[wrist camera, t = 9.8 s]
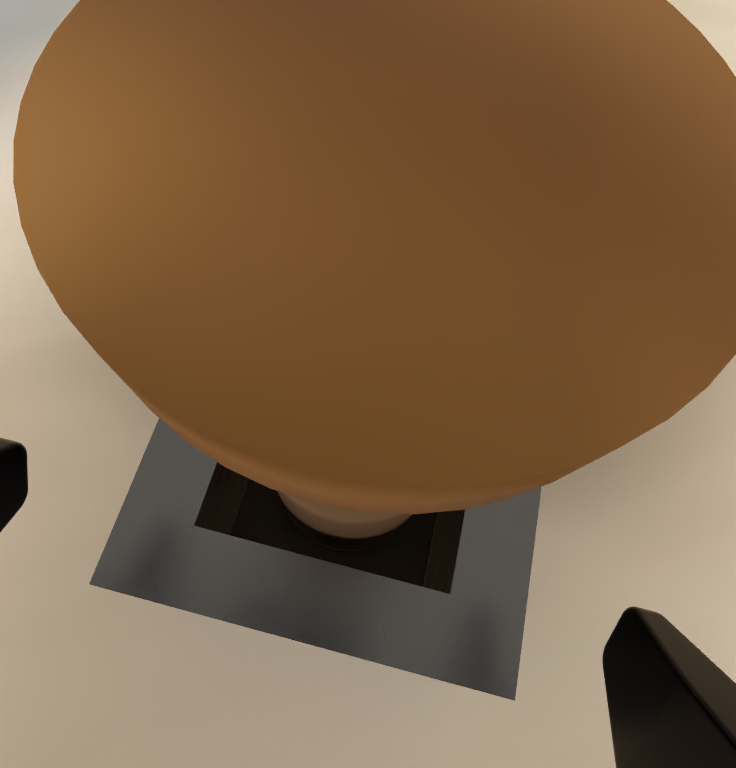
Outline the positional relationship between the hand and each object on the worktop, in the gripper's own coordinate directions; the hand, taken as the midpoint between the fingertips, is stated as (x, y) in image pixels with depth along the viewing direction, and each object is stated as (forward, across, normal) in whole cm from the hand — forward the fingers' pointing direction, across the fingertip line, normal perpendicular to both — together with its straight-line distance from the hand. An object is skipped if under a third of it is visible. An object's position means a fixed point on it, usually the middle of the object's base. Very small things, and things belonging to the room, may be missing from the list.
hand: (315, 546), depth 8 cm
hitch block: (+8, 0, +3) cm, 8 cm away
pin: (+7, 0, +4) cm, 8 cm away
